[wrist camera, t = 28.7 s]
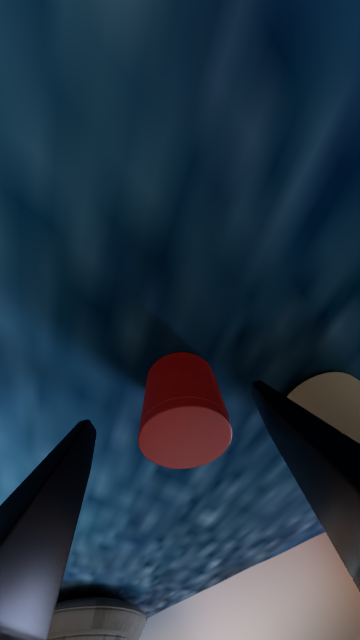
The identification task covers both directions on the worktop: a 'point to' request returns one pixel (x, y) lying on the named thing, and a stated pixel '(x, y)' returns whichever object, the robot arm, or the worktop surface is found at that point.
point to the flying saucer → (96, 620)
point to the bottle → (332, 401)
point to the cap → (183, 413)
